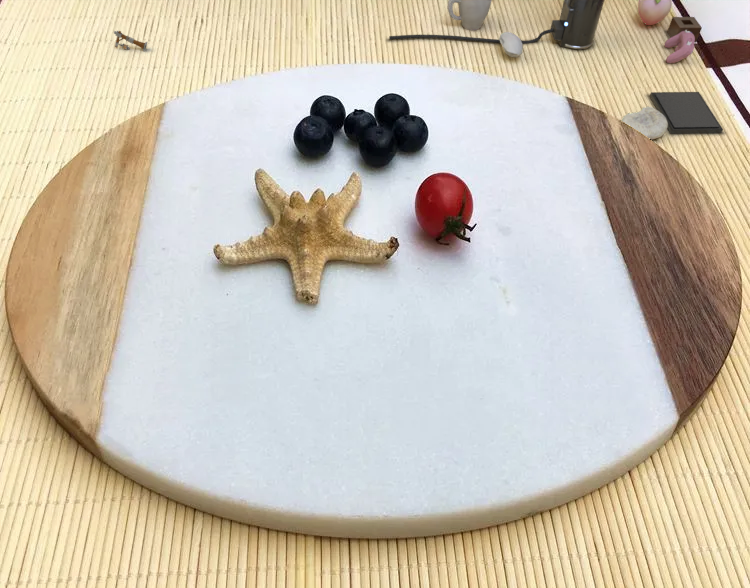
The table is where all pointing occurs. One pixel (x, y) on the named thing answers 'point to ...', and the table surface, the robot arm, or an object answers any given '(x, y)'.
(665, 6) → the decorative fruit
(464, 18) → the mug
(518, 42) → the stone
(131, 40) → the wooden post with brackets
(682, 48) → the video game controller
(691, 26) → the pen block
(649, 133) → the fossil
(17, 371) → the table surface
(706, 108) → the tablet
